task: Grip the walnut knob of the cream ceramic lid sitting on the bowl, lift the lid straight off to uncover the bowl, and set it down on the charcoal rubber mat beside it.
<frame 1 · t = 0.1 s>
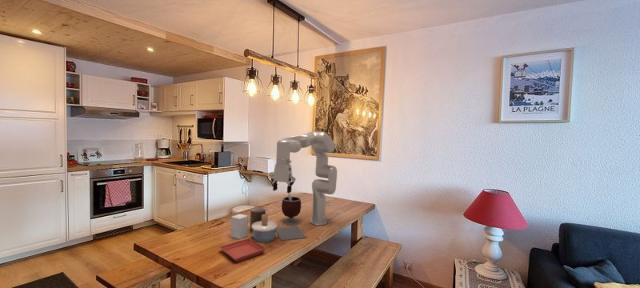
hand: (282, 191, 153), 31 cm above the table, tool pointing down, fingers open, 9 cm apart
lid: (264, 228, 163), point 6 cm above the table, touching bowl
mate gourd: (290, 222, 194), on the table
supplement box: (239, 236, 165), on the table
grey cylinder: (257, 230, 176), on the table
mat: (289, 233, 172), on the table
bowl: (264, 238, 163), on the table
plant saucer: (242, 253, 143), on the table
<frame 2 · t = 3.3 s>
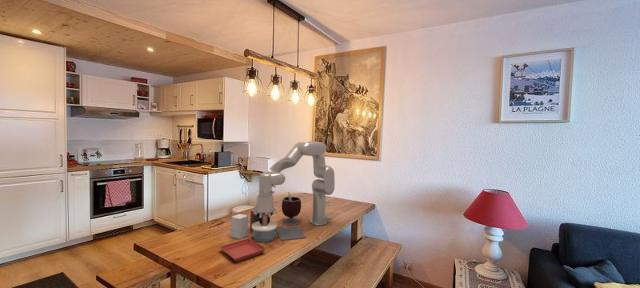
hand: (264, 223, 163), 9 cm above the table, tool pointing down, fingers closed on lid, 3 cm apart
lid: (264, 228, 163), point 6 cm above the table, touching bowl, gripper
everything else where it was.
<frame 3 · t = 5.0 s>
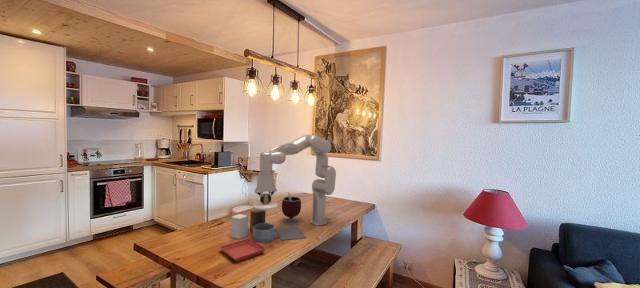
hand: (265, 202, 162), 22 cm above the table, tool pointing down, fingers closed on lid, 3 cm apart
lid: (265, 207, 163), point 19 cm above the table, touching gripper
everything else where it was.
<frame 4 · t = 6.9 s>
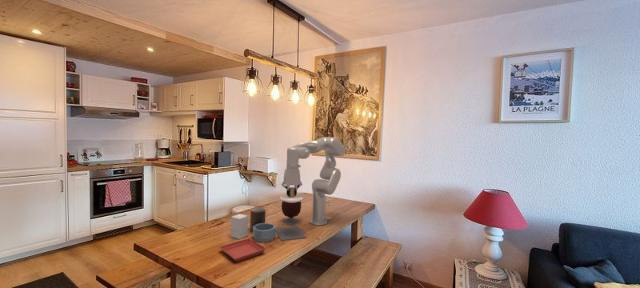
hand: (291, 195, 170), 25 cm above the table, tool pointing down, fingers closed on lid, 3 cm apart
lid: (291, 200, 170), point 22 cm above the table, touching gripper
everything else where it was.
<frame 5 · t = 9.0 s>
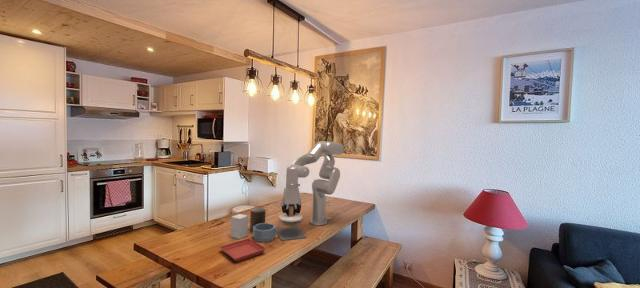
hand: (290, 214, 170), 13 cm above the table, tool pointing down, fingers closed on lid, 3 cm apart
lid: (290, 219, 170), point 10 cm above the table, touching gripper
everything else where it was.
when the fingers open (6 cm above the table, at t = 10.7 s): lid drops 2 cm, resting on mat.
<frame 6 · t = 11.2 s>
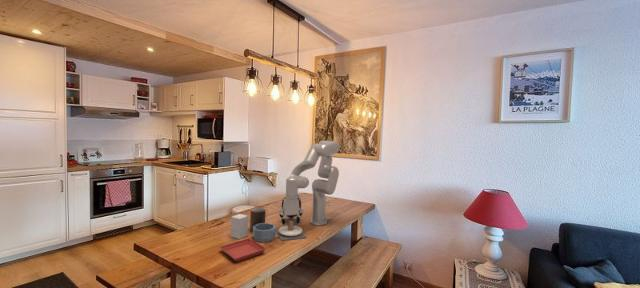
hand: (290, 223, 171), 7 cm above the table, tool pointing down, fingers open, 8 cm apart
lid: (290, 233, 171), point 1 cm above the table, touching mat
everything else where it was.
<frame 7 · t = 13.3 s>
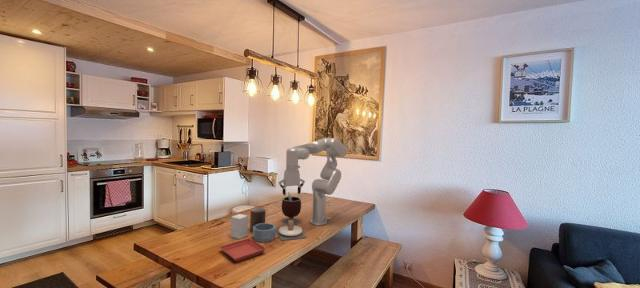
hand: (291, 194, 172), 25 cm above the table, tool pointing down, fingers open, 9 cm apart
nothing on the table moved.
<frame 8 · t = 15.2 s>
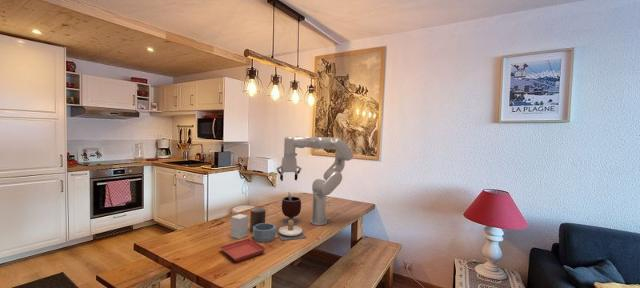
hand: (288, 180, 181), 32 cm above the table, tool pointing down, fingers open, 9 cm apart
nothing on the table moved.
at the end: lid inside the target area on the mat (1.0 cm from its centre), point 0.6 cm above the mat's base; lid tilted 0°; the gripper is holding nothing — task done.
